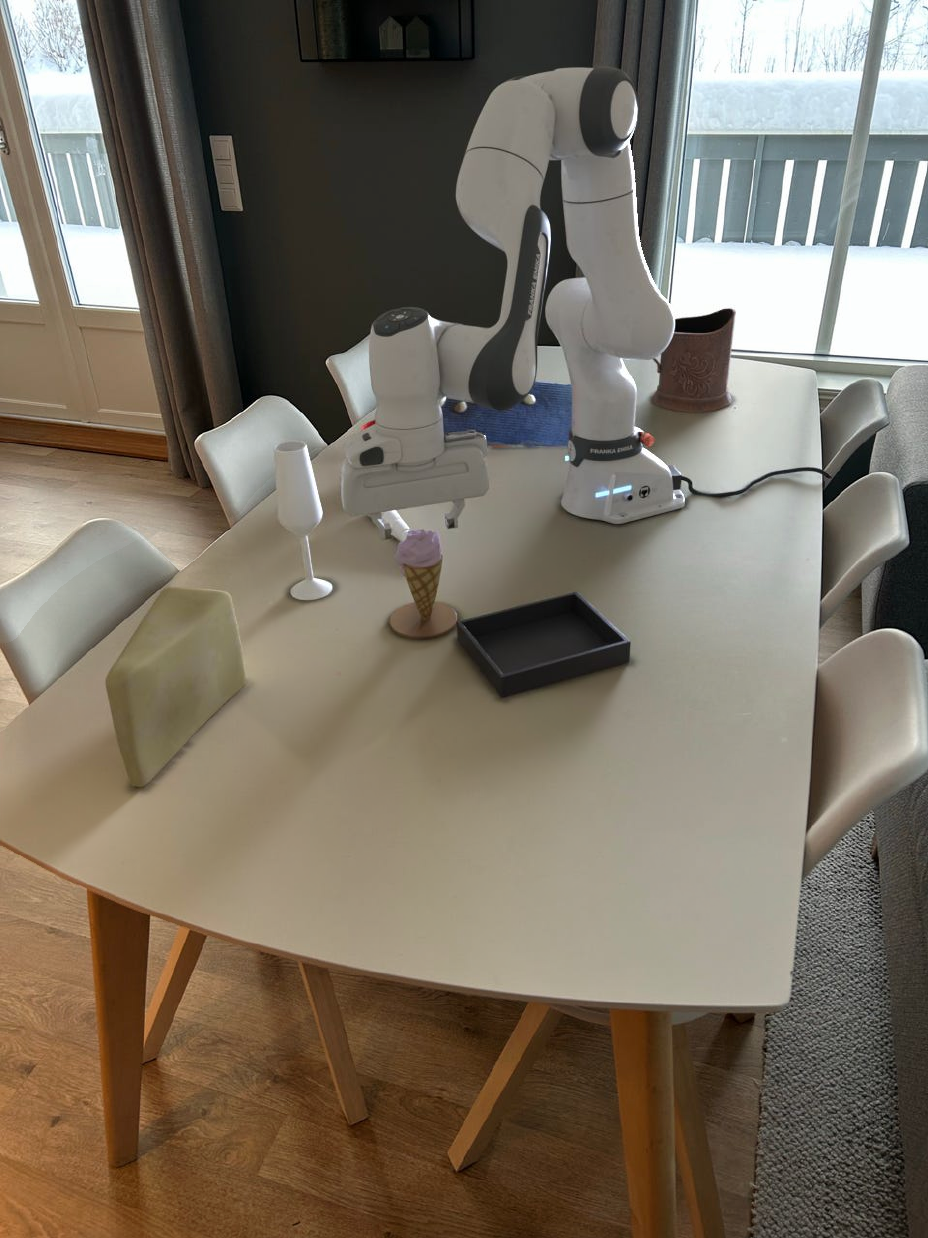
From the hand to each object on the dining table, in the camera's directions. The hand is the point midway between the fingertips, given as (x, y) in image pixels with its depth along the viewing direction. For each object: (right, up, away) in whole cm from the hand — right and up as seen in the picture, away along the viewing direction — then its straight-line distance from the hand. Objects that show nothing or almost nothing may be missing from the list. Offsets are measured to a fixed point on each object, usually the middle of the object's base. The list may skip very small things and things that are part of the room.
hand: (419, 532), depth 127 cm
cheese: (-30, -26, -12) cm, 41 cm away
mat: (+12, +32, +79) cm, 86 cm away
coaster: (0, -12, +8) cm, 15 cm away
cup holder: (+58, +40, +89) cm, 113 cm away
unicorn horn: (-5, +3, +33) cm, 33 cm away
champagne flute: (-18, -8, +17) cm, 26 cm away
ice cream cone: (0, -12, +7) cm, 14 cm away
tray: (+17, -17, 0) cm, 24 cm away
